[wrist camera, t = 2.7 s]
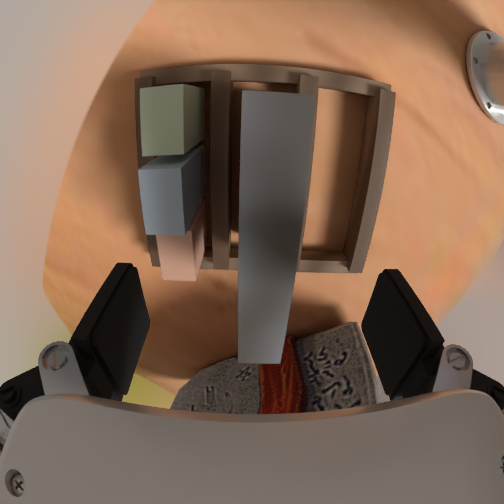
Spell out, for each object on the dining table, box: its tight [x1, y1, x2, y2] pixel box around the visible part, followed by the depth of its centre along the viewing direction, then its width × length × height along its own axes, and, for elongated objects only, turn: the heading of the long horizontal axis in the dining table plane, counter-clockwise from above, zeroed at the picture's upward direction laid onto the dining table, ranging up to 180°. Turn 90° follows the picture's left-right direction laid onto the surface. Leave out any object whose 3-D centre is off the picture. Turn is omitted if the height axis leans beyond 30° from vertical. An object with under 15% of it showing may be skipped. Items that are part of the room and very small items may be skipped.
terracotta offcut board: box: [156, 200, 207, 281], centre depth 25 cm, size 3×5×7 cm, turn 178°
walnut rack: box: [135, 64, 396, 273], centre depth 24 cm, size 22×20×3 cm
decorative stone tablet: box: [170, 322, 382, 414], centre depth 32 cm, size 19×6×30 cm
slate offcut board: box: [138, 145, 205, 235], centre depth 22 cm, size 3×5×9 cm, turn 178°
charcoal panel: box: [238, 90, 315, 364], centre depth 19 cm, size 2×14×16 cm, turn 178°
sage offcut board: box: [140, 84, 205, 156], centre depth 19 cm, size 3×5×8 cm, turn 178°
